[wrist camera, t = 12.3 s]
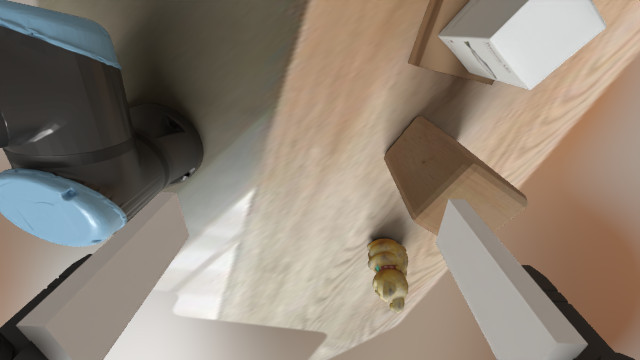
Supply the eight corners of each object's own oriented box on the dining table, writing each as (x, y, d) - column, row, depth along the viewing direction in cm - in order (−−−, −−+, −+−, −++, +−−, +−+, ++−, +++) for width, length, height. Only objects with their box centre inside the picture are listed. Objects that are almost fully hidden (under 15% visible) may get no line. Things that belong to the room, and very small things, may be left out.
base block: (407, 63, 41) (418, 66, 36) (436, -22, 36) (455, -32, 31) (471, 79, 42) (491, 84, 37) (509, -2, 37) (539, -8, 31)
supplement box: (435, 36, 34) (486, 37, 23) (485, -18, 31) (572, -47, 20) (468, 74, 36) (529, 92, 25) (518, 28, 33) (612, 25, 22)
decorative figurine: (358, 241, 59) (367, 299, 46) (390, 224, 56) (410, 281, 43) (380, 266, 62) (394, 326, 49) (411, 251, 60) (434, 311, 47)
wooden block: (417, 112, 44) (476, 160, 27) (458, 142, 47) (537, 204, 29) (380, 156, 49) (410, 223, 31) (420, 182, 51) (468, 257, 34)
